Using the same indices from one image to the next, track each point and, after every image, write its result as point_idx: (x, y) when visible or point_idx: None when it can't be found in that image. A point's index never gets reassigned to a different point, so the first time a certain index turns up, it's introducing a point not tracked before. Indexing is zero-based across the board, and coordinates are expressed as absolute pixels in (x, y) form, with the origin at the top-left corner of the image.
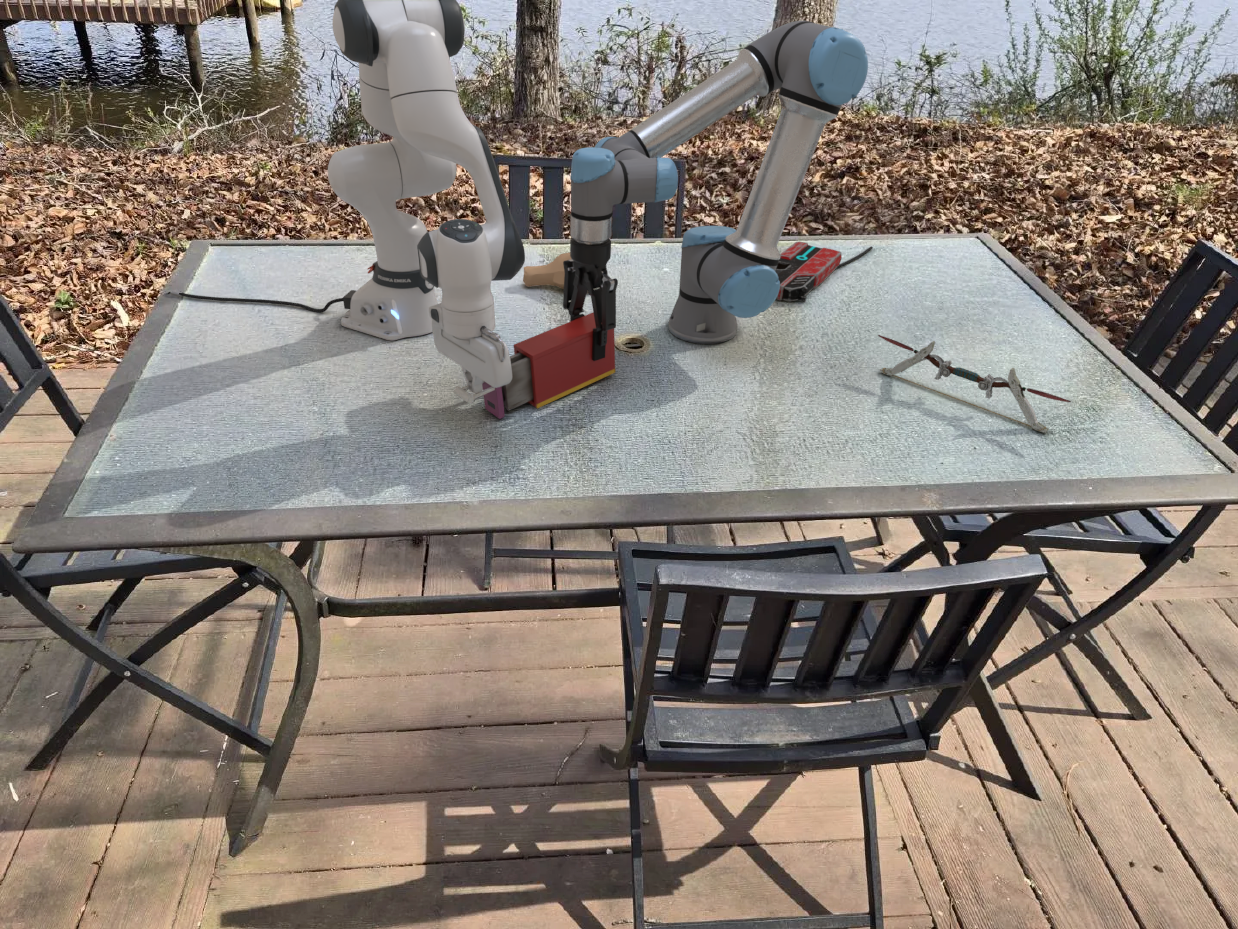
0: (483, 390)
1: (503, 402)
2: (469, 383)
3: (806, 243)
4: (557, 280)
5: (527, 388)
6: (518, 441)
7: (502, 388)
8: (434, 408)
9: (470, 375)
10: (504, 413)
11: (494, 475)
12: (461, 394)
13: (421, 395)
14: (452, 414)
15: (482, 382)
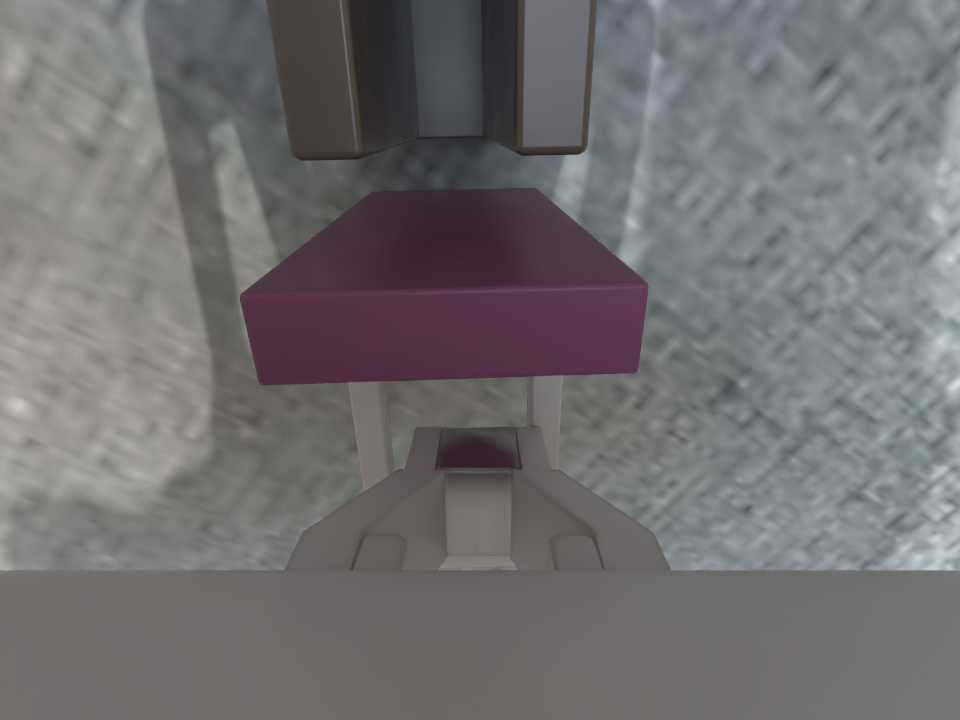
0: (539, 414)
1: (436, 123)
2: (468, 550)
3: None
4: None
5: None
6: (783, 271)
7: (406, 100)
8: (199, 440)
9: (414, 555)
10: (539, 191)
11: (891, 509)
12: (472, 566)
13: (20, 427)
14: (310, 399)
15: (565, 475)
